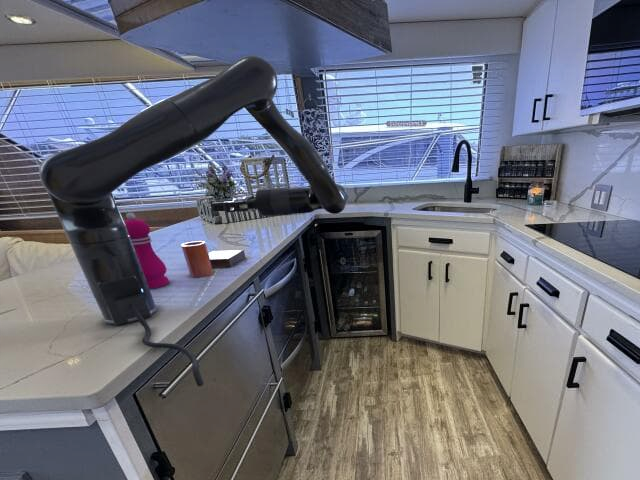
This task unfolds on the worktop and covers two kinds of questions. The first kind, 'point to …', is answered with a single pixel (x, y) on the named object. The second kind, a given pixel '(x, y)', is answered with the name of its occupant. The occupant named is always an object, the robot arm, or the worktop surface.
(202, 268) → the cup
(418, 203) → the worktop surface
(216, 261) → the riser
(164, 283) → the pepper mill
